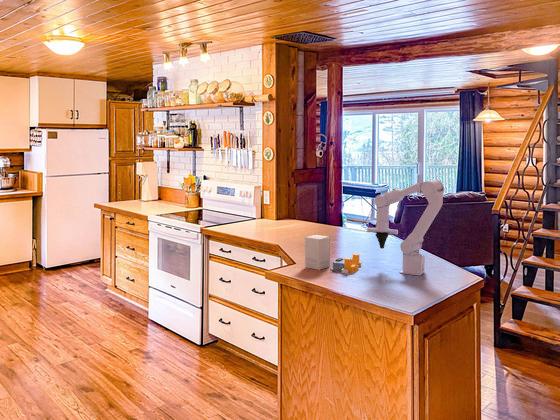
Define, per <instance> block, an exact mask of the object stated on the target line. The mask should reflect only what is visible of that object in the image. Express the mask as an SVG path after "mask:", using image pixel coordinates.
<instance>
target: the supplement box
mask: <svg viewBox="0 0 560 420" xmlns="http://www.w3.org/2000/svg"><path fill="white" fill-rule="evenodd" d="M304 267H305V268H307V269H313V270H316V271H317V270H318V271H320V270H323V269H326V268H330V267H331V236H328V235H320V234H313V235H309V236H304Z"/></svg>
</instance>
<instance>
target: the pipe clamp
mask: <svg viewBox="0 0 560 420" xmlns="http://www.w3.org/2000/svg"><path fill="white" fill-rule="evenodd" d="M344 258H345V259H344V269H349V274H355V273H356V272H358V271H359V268H360V266H359V262H360V253H353V254H352V258H350V257H344ZM351 259H352V262H351Z"/></svg>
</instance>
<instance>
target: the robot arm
mask: <svg viewBox="0 0 560 420" xmlns="http://www.w3.org/2000/svg"><path fill="white" fill-rule="evenodd" d="M444 192H445V187H444V184H443V182H442V181H441V180H439V179H434V180H426V181H425V180H424V181H423V182H417V183H415V184H413V185H410V186H408V187H406V188H402V189H401V188H396V187H395V188H392V189H391V191H388V192H387V191H386V192H383V194H378V195H376V196H375V198H374V204H375V206H376V215H375V216H376V219H375V220H376V222H375V223H376V224H375V225H376V227H367V228H366V232H367V233H375V237H376V238H377V241H378V244H379V248H380V249H384V248H385V245H386V241H387V239H388V237H389V235H390V234H391V235H395V236H396V235H398V234H399V230H398V229H391V228H389V223H390V222H389V219H390V216H389V214H390V206H391V205H393V204H396V203H398V202H401V201H403V199H404V198H405V197H406V196H410V195H412V194H415V193H419V194H423V196H424V198H425V199H426V200H427V203H428V205H427V206H426V208H425V210H424V211H423V212H422V214H421V217H420V218H419V220H418V221H417V223H416V225H415V227H414V228H413V230H412V232H411V233H409V235H408V236H406V239H404V240H402V242H400V245H399V248H400V250H401V252H402V270H401V271H399V274H403V275H412V276H413V275H414V276H421V275H422V274H424V273H425V255H424V254H421V253H420V250H421V249H422V246H423V242H424V240H425V239H424V236H425V234H427V231H428V230H429V228H430V226H431V224H432V223H433V222H434V220H435V218H436V216H437V215H438V214H439V211H441V208H442V206H443V202H444Z"/></svg>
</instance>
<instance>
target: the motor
mask: <svg viewBox="0 0 560 420" xmlns="http://www.w3.org/2000/svg"><path fill="white" fill-rule="evenodd" d="M345 258H346V257H338V258H336V259H335V260H334V261H333V262H332V267H331V268H330V269H329V271H331V270H333V271H334V272H338V271H339V272H340V273H341V274H342V273H343V274H342V275H349V274H350V273H349V269H344V259H345ZM351 262H352V258H351ZM362 266H363V265H362V261H359V268H361V267H362ZM333 271H332V272H333ZM339 272H338V273H339Z"/></svg>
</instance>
